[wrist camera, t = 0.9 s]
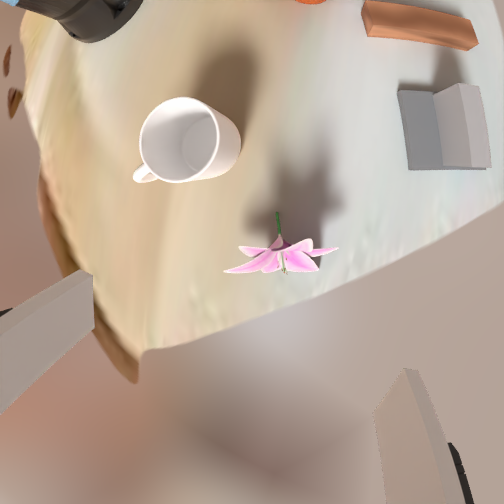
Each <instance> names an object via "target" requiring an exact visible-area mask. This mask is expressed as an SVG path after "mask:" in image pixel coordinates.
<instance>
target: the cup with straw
mask: <svg viewBox="0 0 504 504" xmlns="http://www.w3.org/2000/svg"><path fill="white" fill-rule="evenodd" d="M296 1H298V2H301V3H305V4H318V3H322V2H324V1H326V0H296Z"/></svg>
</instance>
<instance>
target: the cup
mask: <svg viewBox="0 0 504 504" xmlns="http://www.w3.org/2000/svg"><path fill="white" fill-rule="evenodd" d="M139 148H140V154H141V157H142V160H143V162H144V163H142V164H141V165H140V166H139V167H138V168H137V169H136V170H135V171H134V173H133V179H134V180H135V181H136V182H140V183H143V182H150V181H153V180H156V179H158V178H159V179H161V180H164V181H167V182H173V183H180V182H187V181H193V180H200V179H207V178H213V177H216V176H219V175H222V174H223V173H225V172H227V171H228V170H229V169H230V168H231V167H232V166H233V165H234V164H235V162H236V161H237V159H238V157H239V154H240V150H241V138H240V134H239V131H238V129H237V127H236V126H235V124H234V123H233V122H232V121H231V120H230V119H228V118H227V117H226V116H224V115H223V114H221V113H219V112H218V111H216V110H215V109H213V108H211V107H210V106H208V105H206V104H205V103H203V102H201V101H200V100H197V99H195V98H191V97H176V98H172V99H169V100H166V101H164V102H163V103H161V104H159V105H158V106H157V107H156V108H154V109H153V110H152V112H151V113H150V114H149V115H148V117H147V118H146V120H145V122H144V124H143V126H142V129H141V132H140V139H139Z"/></svg>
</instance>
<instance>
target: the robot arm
mask: <svg viewBox="0 0 504 504" xmlns="http://www.w3.org/2000/svg"><path fill="white" fill-rule="evenodd" d="M1 1H3V2H5V3H8V4H10V5H11V6H17V7H20V8H24V9H27V10H30V11H33V12H36V13H39V14H42V15H44V16H47V17H50V18H53V19H55V20H57V21H58V22H59V23H60V24H61V25H62V26H63V28H64V29H65V30H66V31H67V32H68V33H69V35H70V36H71V37H73V38H74V39H76V40H79V41H81V42H84V43H93V42H97V41H100V40H103V39H105V38H107V37H108V36H110V35H112V34H113V33H115V32H116V31H117V30H118V29H120V28H121V27H122V26H123V25H124V24H125V23H126V22H127V21H128V20H129V19H130V18H131V17H132V16H133V15H134V13H135V12H136V11H137V9H138V8H139V6H140V4H141V2H142V0H1ZM94 328H95V327H94V309H93V275H92V274H89V273H87V272H85V271H82V270H78V271H76V272H74V273H73V274H71V275H69V276H67V277H66V278H64V279H62V280H60V281H59V282H57V283H55V284H53V285H52V286H51V287H48V288H47V289H45V290H43V291H41V292H40V293H38V294H36V295H35V296H33V297H31V298H30V299H28V300H27V301H25V302H23V303H22V304H20V305H19V306H17V307H15V308H14V309H13V308H11V309H7V310H4V311H0V415H1V414H2V413H3V412H4V411H5V410H6V409H7V408H8V407H9V406H10V405H11V404H12V403H13V402H14V401H15V400H16V399H17V398H18V397H19V396H20V395H21V394H22V393H23V392H24V391H25V390H26V389H27V388H29V386H31V385H32V384H33V383H34V382H35V381H36V380H37V379H38V378H39V377H40V376H41V375H42V374H44V372H46V371H47V370H48V369H49V368H50V367H51V366H52V365H53V364H54V363H55V362H57V361H58V360H59V359H60V358H61V357H62V356H63V355H64V354H65V353H66V352H68V351H69V350H70V349H71V348H72V347H73V346H74V345H75V344H76V343H78V342H79V341H80V340H81V339H82V338H83V337H84V336H86V335H87V334H88V333H89V332H90V331H91V330H92V329H94ZM373 417H374V422H375V428H376V433H377V439H378V445H379V451H380V457H381V464H382V471H383V478H384V486H385V495H386V504H474V502H473V498H472V494H471V491H470V487H469V484H468V481H467V477H466V474H464V472H465V471H464V468H463V465H461V464H462V462H461V459H460V456H459V453H458V451H457V450H456V449H455V447H454V446H453V445H452V443H447V441H446V438H445V435H444V432H443V430H442V427H441V424H440V422H439V419H438V417H437V414H436V411H435V409H434V406H433V404H432V402H431V399H430V397H429V394H428V392H427V390H426V387H425V385H424V383H423V380H422V378H421V376H420V374H419V371H418V370H412V369H406V368H403V370H402V371H401V373H400V375H399V376H398V378H397V379H396V381H395V382H394V384H393V385H392V387H391V388H390V390H389V391H388V393H387V394H386V395H385V397H384V398H383V400H382V401H381V402H380V404H379V405H378V407H377V408H376V409H375V410H374V412H373Z"/></svg>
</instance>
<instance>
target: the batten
mask: <svg viewBox="0 0 504 504" xmlns="http://www.w3.org/2000/svg"><path fill="white" fill-rule="evenodd" d="M361 16H362V19H363V22H364V26H365V29H366V33H367V37H382V38H393V39H403V40H411V41H418V42H424V43H430V44H436V45H441V46H446V47H451V48H455V49H460V50H464V51H468V50H470V49H471V48H473V47H475V46H476V45H478V44H479V43H478V40H477V37H476V34H475V32H474V29H473V26H472V24H471V21H470V20H468V19H465V18H461V17H458V16H454V15H451V14H447V13H443V12H439V11H434V10H430V9H425V8H420V7H415V6H409V5H403V4H396V3H388V2H379V1H367V0H366V1H365V3H364V6H363V9H362V11H361Z"/></svg>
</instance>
